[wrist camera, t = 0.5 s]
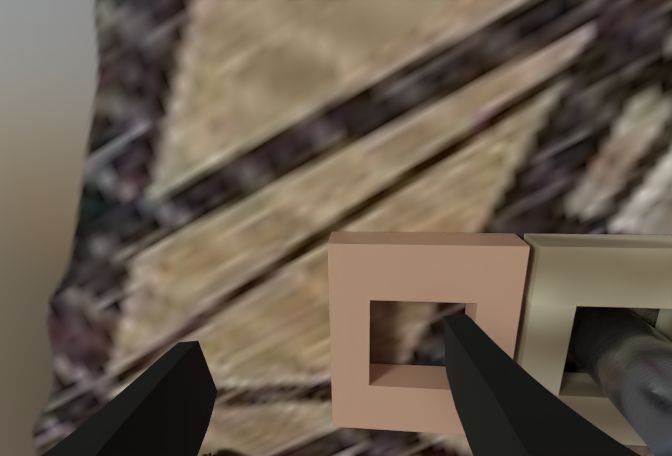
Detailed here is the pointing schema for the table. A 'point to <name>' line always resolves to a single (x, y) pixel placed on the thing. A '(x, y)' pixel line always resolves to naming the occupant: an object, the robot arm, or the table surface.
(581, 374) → the pin mount
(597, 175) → the table surface
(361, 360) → the socket block
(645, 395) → the pin
